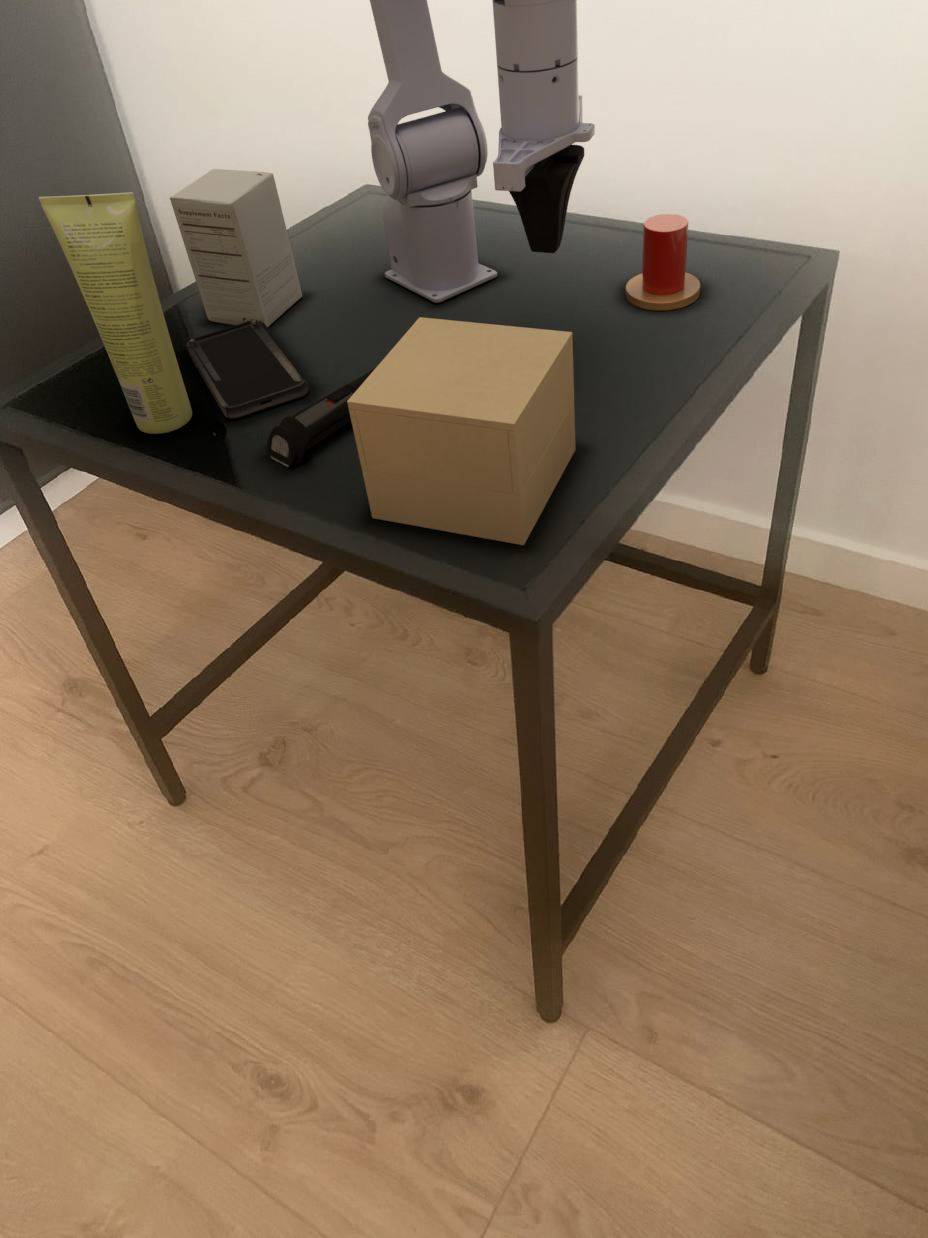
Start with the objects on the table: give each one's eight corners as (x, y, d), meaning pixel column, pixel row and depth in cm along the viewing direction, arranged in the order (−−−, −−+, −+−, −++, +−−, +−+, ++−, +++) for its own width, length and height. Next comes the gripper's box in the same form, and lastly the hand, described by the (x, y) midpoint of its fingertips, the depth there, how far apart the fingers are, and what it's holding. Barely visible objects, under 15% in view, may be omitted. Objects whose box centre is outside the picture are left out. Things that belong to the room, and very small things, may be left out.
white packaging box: (246, 289, 102) (212, 166, 93) (304, 297, 99) (275, 170, 90) (205, 322, 97) (166, 195, 88) (265, 331, 94) (231, 201, 86)
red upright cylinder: (633, 286, 91) (634, 224, 87) (662, 272, 93) (665, 210, 89) (663, 299, 89) (666, 235, 85) (693, 284, 90) (697, 220, 86)
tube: (186, 396, 87) (109, 173, 73) (209, 418, 84) (132, 190, 70) (128, 420, 85) (37, 196, 71) (149, 444, 82) (58, 214, 68)
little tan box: (435, 429, 78) (419, 316, 72) (575, 449, 74) (572, 331, 67) (372, 518, 71) (346, 401, 64) (524, 545, 67) (514, 423, 60)
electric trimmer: (429, 387, 84) (425, 354, 82) (294, 471, 76) (285, 437, 74) (400, 375, 86) (395, 343, 84) (265, 455, 78) (256, 422, 76)
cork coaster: (610, 295, 92) (610, 287, 92) (661, 270, 95) (661, 262, 94) (663, 318, 88) (663, 310, 87) (715, 291, 91) (716, 283, 90)
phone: (259, 317, 94) (309, 382, 84) (262, 328, 95) (312, 393, 84) (182, 341, 92) (223, 410, 82) (185, 352, 93) (227, 422, 82)
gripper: (558, 93, 61) (565, 293, 71) (620, 30, 71) (618, 214, 80) (458, 92, 64) (477, 286, 73) (530, 31, 73) (539, 210, 82)
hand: (545, 248), depth 77 cm, fingers closed
